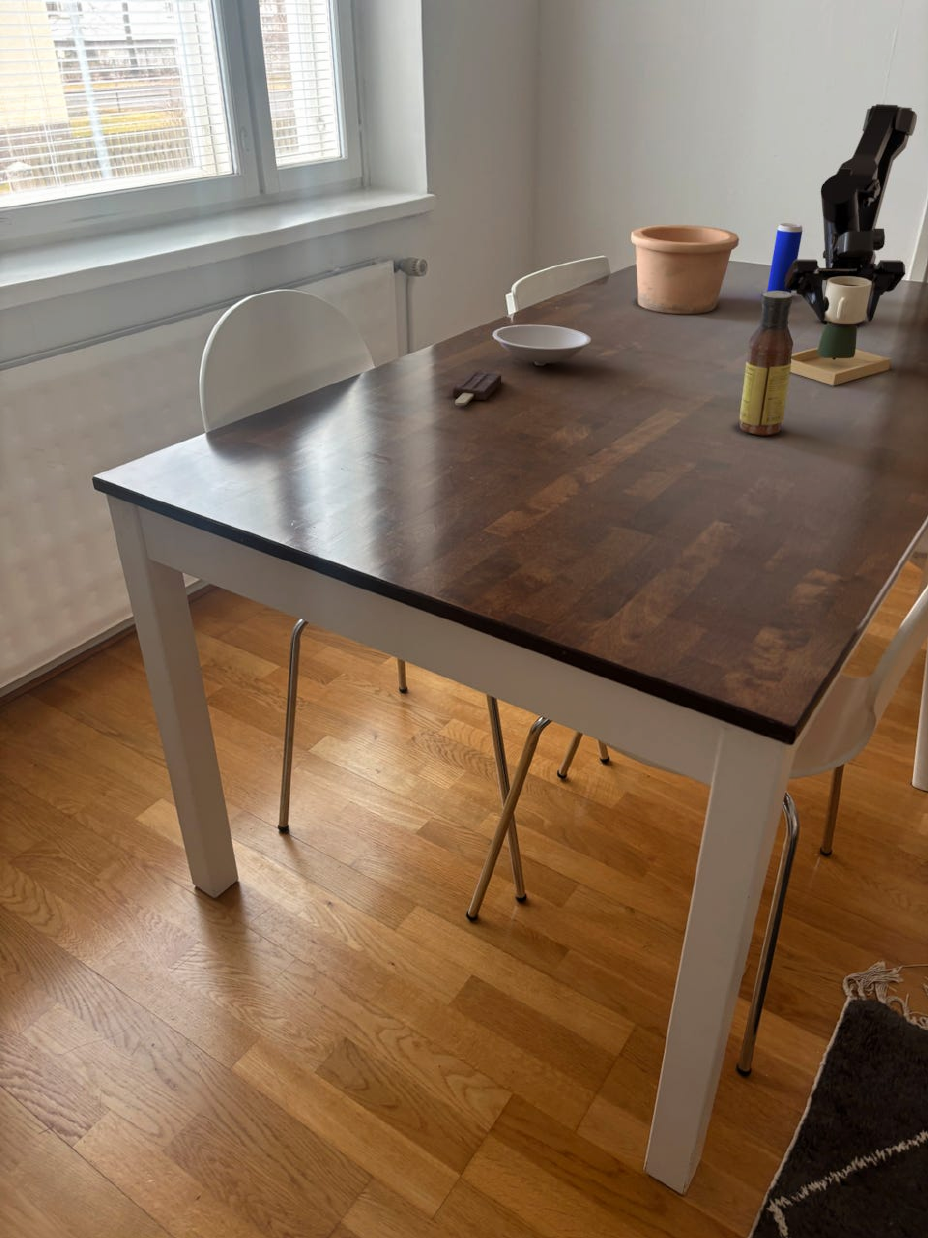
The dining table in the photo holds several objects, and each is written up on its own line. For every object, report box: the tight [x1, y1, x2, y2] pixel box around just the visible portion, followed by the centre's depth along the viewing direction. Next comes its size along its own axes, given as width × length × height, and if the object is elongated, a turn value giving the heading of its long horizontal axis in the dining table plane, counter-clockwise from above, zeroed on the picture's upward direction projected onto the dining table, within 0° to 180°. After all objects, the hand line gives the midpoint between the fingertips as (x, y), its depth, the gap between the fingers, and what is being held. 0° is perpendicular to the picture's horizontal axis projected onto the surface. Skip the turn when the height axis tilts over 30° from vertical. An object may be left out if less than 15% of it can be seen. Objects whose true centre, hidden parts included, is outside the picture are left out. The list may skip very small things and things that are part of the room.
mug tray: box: [790, 347, 892, 387], centre depth 168 cm, size 12×16×2 cm
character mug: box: [817, 276, 872, 360], centre depth 164 cm, size 11×7×13 cm, turn 153°
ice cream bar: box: [452, 369, 502, 407], centre depth 155 cm, size 5×2×15 cm
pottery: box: [630, 224, 740, 315], centre depth 202 cm, size 22×22×14 cm
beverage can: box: [766, 222, 804, 294], centre depth 208 cm, size 5×5×15 cm
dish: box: [492, 324, 592, 366], centre depth 168 cm, size 18×14×5 cm
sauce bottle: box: [739, 291, 794, 436], centre depth 138 cm, size 6×6×20 cm
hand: (846, 320), depth 163 cm, fingers closed on character mug, 8 cm apart
